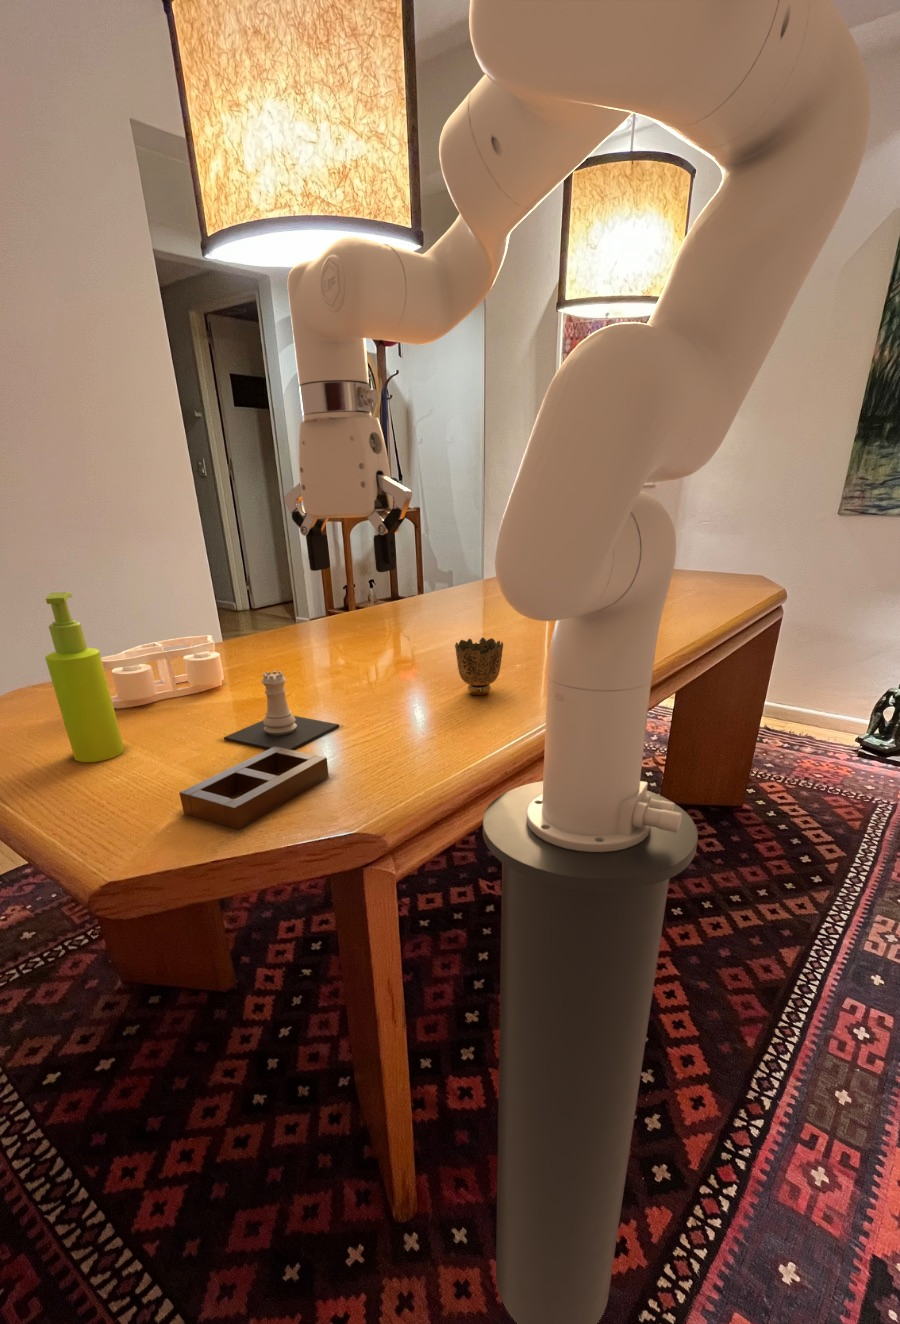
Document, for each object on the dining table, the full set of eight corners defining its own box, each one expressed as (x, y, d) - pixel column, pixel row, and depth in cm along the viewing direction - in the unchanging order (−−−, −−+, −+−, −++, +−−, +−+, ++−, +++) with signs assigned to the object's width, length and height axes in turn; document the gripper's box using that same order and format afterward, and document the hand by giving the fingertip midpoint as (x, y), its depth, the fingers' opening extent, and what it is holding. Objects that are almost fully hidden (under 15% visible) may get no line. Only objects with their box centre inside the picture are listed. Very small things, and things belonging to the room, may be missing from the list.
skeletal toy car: (116, 715, 101) (104, 667, 98) (94, 698, 109) (83, 653, 105) (240, 687, 113) (233, 643, 109) (213, 674, 120) (206, 633, 117)
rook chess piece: (289, 722, 95) (281, 667, 92) (302, 731, 92) (295, 673, 88) (259, 729, 93) (250, 672, 89) (271, 738, 90) (263, 680, 86)
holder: (329, 777, 79) (326, 757, 78) (238, 830, 68) (234, 808, 67) (277, 765, 83) (274, 746, 82) (183, 813, 71) (178, 792, 70)
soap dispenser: (126, 740, 92) (88, 587, 83) (122, 758, 86) (80, 596, 77) (79, 745, 90) (35, 591, 81) (71, 765, 84) (22, 600, 75)
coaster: (339, 727, 94) (339, 724, 94) (286, 753, 86) (285, 750, 86) (280, 715, 99) (279, 713, 99) (224, 740, 91) (223, 737, 91)
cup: (458, 701, 104) (457, 649, 100) (453, 687, 110) (452, 638, 107) (505, 699, 104) (506, 647, 101) (499, 685, 111) (499, 636, 107)
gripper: (421, 400, 73) (430, 567, 80) (297, 414, 80) (315, 565, 88) (383, 395, 67) (396, 575, 74) (252, 410, 74) (276, 572, 82)
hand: (352, 570), depth 81 cm, fingers open, 9 cm apart
